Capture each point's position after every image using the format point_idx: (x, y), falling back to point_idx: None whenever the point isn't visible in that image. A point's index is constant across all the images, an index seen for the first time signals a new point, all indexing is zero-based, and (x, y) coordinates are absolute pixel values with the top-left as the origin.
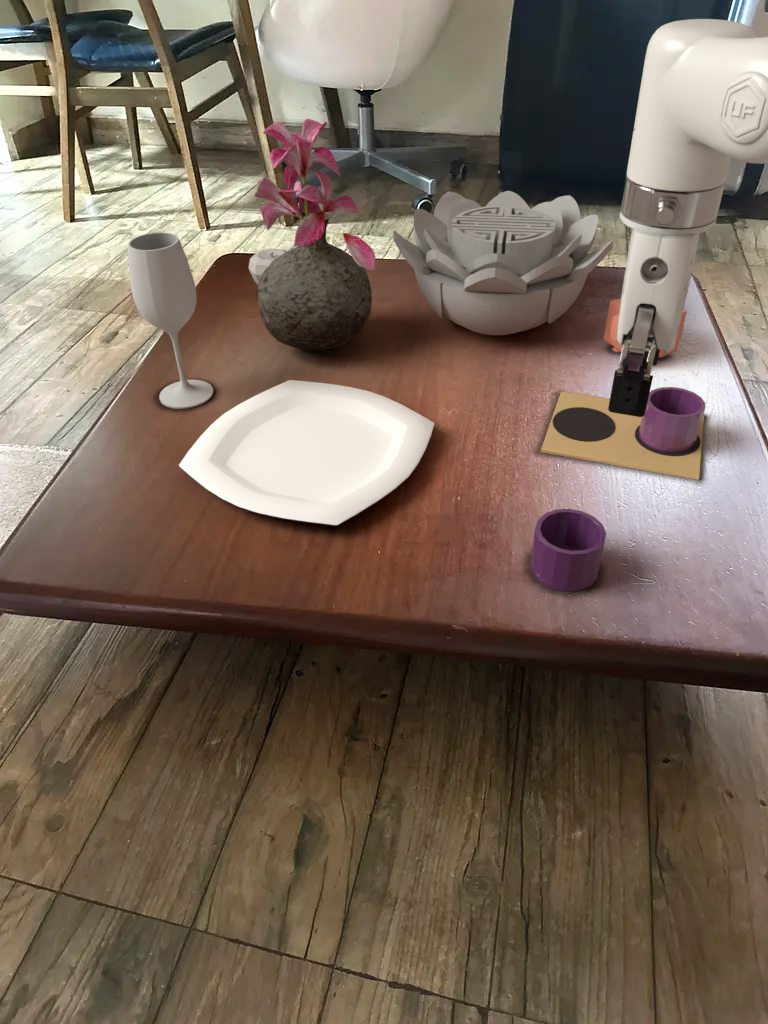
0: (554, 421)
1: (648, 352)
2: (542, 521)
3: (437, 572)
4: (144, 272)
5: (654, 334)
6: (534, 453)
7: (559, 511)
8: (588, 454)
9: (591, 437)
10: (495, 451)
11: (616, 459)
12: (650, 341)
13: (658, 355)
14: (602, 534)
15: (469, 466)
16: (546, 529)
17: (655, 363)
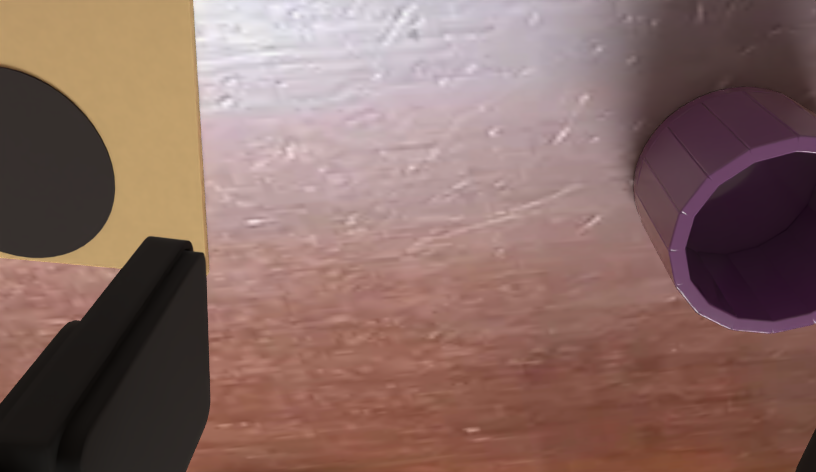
0: (42, 253)
1: (172, 356)
2: (736, 317)
3: (752, 435)
4: None
5: (103, 462)
6: (219, 286)
7: (686, 277)
8: (178, 144)
9: (81, 140)
10: (247, 376)
11: (172, 54)
12: (140, 427)
13: (160, 276)
14: (806, 147)
15: (334, 423)
16: (695, 276)
17: (197, 254)
